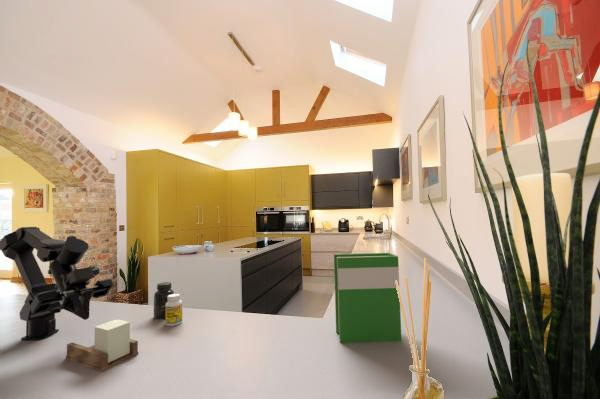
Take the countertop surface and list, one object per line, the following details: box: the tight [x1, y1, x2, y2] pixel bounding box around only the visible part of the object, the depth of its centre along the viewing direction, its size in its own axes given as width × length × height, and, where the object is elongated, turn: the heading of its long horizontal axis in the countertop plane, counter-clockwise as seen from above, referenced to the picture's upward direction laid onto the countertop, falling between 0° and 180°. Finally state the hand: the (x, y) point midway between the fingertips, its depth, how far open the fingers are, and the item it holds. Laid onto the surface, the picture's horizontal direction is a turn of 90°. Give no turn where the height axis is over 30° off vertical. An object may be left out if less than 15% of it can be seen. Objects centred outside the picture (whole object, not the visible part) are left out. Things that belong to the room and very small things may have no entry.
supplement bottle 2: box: [165, 293, 183, 327], centre depth 96 cm, size 5×5×10 cm
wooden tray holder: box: [65, 338, 139, 373], centre depth 74 cm, size 16×9×4 cm, turn 65°
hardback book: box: [333, 252, 402, 344], centre depth 83 cm, size 18×7×24 cm, turn 91°
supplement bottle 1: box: [153, 281, 175, 320], centre depth 103 cm, size 7×7×12 cm
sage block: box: [93, 318, 131, 363], centre depth 73 cm, size 6×6×8 cm
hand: (87, 318), depth 78 cm, fingers closed
